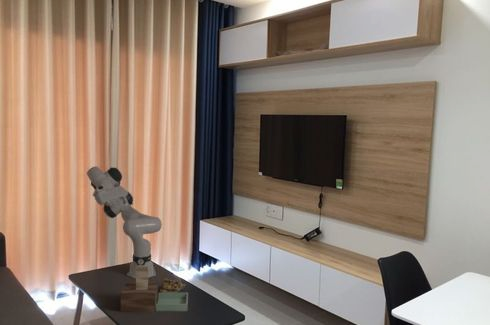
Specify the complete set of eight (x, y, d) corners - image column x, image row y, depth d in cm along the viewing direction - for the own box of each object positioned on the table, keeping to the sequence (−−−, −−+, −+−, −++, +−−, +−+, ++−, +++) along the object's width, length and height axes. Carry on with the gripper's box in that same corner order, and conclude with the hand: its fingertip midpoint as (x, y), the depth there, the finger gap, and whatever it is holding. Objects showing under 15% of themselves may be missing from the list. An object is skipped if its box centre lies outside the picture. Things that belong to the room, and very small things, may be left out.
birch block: (137, 286, 235) (137, 265, 234) (148, 286, 236) (148, 265, 235) (135, 289, 230) (136, 268, 229) (146, 289, 231) (147, 268, 230)
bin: (158, 299, 243) (158, 292, 242) (187, 299, 245) (188, 292, 244) (155, 311, 227) (155, 304, 227) (187, 311, 229) (187, 304, 229)
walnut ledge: (125, 299, 241) (125, 282, 240) (157, 299, 243) (157, 282, 242) (120, 311, 225) (120, 293, 224) (154, 311, 227) (155, 293, 226)
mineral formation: (161, 287, 260) (185, 286, 262) (159, 300, 247) (185, 298, 249) (160, 276, 257) (185, 274, 259) (159, 288, 245) (184, 286, 247)
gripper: (117, 187, 260) (130, 204, 257) (90, 195, 243) (103, 213, 240) (121, 181, 257) (134, 197, 254) (94, 188, 240) (107, 206, 237)
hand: (119, 205), depth 247 cm, fingers open, 8 cm apart
